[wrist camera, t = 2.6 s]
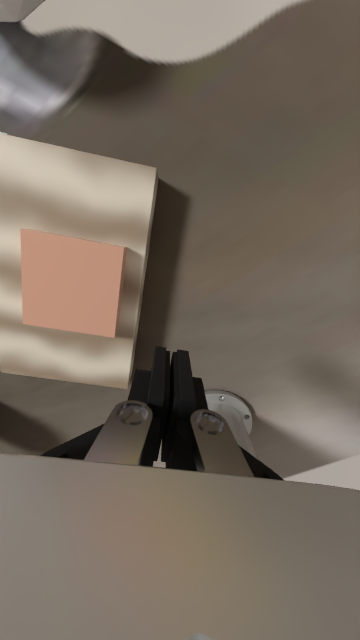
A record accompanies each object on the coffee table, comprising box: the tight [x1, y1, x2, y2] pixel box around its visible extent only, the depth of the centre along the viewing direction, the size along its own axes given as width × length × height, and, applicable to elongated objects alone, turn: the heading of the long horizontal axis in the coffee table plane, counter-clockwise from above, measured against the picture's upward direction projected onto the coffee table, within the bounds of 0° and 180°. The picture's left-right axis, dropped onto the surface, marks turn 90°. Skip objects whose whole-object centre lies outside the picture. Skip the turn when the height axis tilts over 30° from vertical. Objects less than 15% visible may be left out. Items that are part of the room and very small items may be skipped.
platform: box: [0, 133, 159, 389], centre depth 28 cm, size 26×16×4 cm, turn 170°
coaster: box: [20, 228, 127, 338], centre depth 26 cm, size 10×10×2 cm
